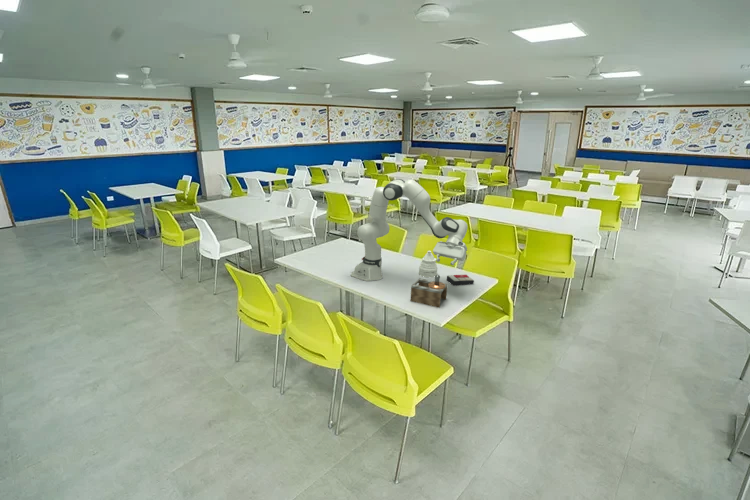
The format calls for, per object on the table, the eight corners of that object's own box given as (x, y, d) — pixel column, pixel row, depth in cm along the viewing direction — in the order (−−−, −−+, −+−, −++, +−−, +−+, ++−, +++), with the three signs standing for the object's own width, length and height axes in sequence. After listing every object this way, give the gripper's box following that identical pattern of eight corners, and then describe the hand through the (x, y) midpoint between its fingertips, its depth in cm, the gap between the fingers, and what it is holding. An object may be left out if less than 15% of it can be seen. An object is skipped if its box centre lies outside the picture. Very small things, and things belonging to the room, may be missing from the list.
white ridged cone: (436, 278, 267) (438, 253, 262) (418, 276, 270) (419, 252, 264) (437, 272, 279) (439, 248, 274) (419, 270, 282) (421, 247, 276)
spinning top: (425, 295, 227) (426, 277, 223) (430, 289, 235) (432, 271, 232) (441, 298, 222) (443, 280, 219) (446, 292, 231) (448, 274, 228)
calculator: (474, 279, 258) (454, 280, 253) (473, 285, 259) (453, 286, 255) (466, 274, 268) (447, 274, 263) (465, 279, 269) (446, 280, 265)
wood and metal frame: (410, 301, 230) (411, 285, 227) (418, 292, 242) (419, 278, 239) (439, 307, 222) (440, 291, 219) (446, 298, 234) (447, 283, 231)
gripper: (436, 238, 238) (427, 256, 233) (467, 244, 226) (458, 264, 222) (439, 243, 243) (430, 261, 238) (469, 249, 231) (461, 269, 226)
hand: (444, 262), depth 230 cm, fingers open, 8 cm apart
